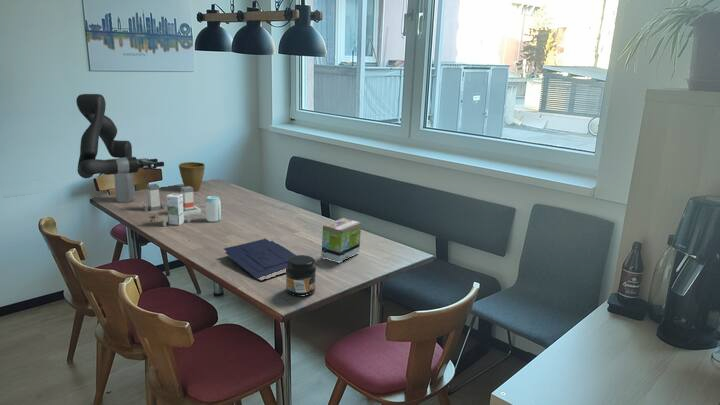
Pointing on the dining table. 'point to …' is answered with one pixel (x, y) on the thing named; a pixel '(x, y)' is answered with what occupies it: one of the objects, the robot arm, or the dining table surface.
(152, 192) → the block
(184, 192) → the marked fuse
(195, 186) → the plant pot
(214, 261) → the dining table surface
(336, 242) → the tea box
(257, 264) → the dark blue book
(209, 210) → the can
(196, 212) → the tray
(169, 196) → the syrup box
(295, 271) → the supplement container
